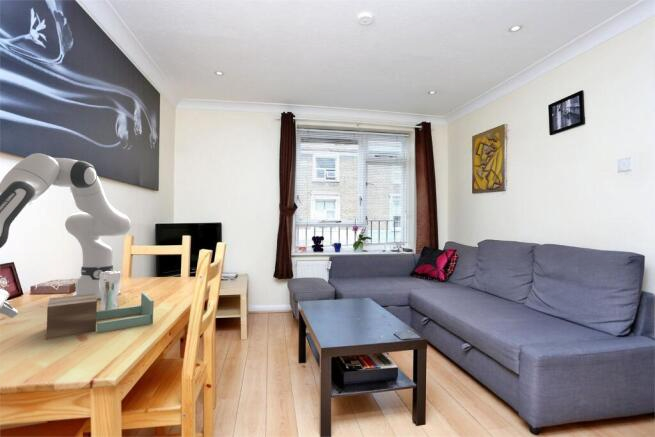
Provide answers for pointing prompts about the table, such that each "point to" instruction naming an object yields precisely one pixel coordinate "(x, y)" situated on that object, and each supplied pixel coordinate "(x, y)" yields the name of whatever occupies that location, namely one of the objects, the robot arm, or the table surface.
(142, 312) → the green bay
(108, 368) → the table surface
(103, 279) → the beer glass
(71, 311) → the walnut block
